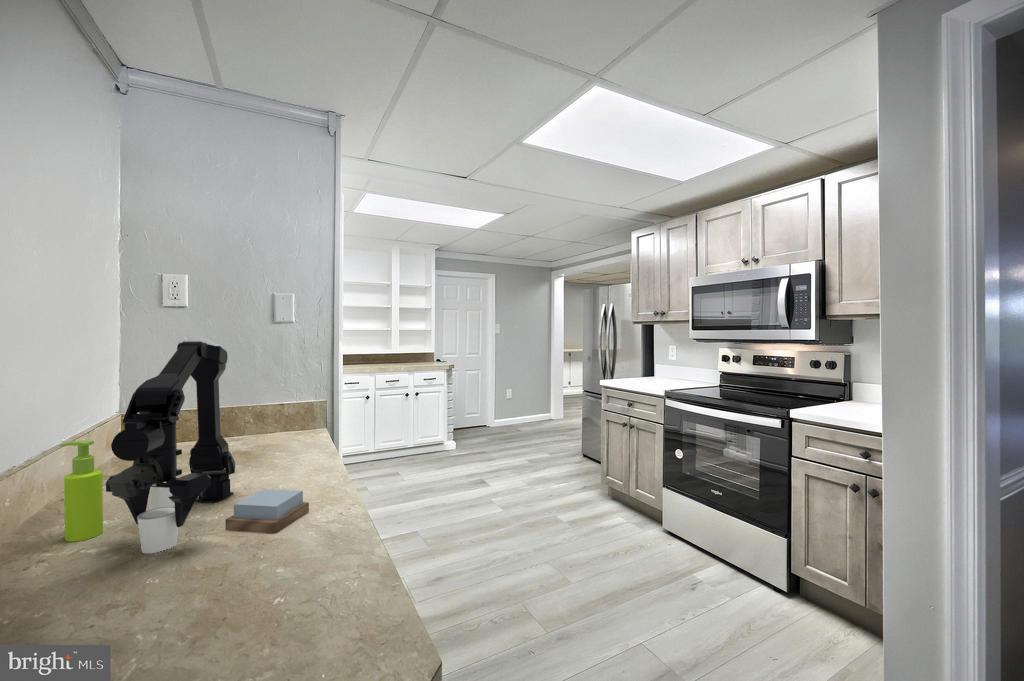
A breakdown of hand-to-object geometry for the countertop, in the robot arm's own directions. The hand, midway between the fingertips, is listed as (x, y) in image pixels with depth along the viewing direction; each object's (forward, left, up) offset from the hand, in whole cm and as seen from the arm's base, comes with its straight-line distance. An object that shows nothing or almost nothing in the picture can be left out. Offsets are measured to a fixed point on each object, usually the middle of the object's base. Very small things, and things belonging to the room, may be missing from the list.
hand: (159, 525), depth 91 cm
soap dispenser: (-21, +2, -4) cm, 22 cm away
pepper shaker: (-13, +13, -4) cm, 19 cm away
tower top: (+13, +15, -2) cm, 20 cm away
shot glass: (0, 0, -4) cm, 5 cm away
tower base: (+13, +15, -5) cm, 20 cm away
